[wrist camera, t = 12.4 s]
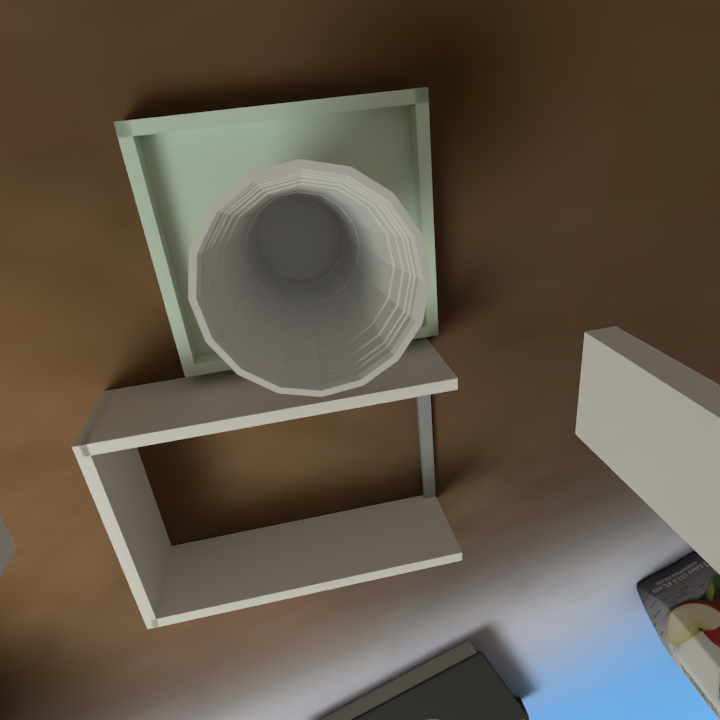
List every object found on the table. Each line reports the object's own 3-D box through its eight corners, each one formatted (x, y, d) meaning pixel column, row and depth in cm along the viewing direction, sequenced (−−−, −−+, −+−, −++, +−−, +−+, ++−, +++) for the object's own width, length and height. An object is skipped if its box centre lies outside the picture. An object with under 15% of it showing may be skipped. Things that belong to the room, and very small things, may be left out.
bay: (164, 555, 43) (147, 629, 36) (104, 390, 36) (71, 446, 30) (434, 500, 45) (462, 560, 39) (425, 337, 39) (457, 378, 32)
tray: (188, 364, 36) (185, 377, 35) (122, 122, 30) (113, 121, 28) (430, 325, 38) (438, 334, 37) (418, 88, 32) (428, 86, 30)
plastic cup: (233, 119, 30) (217, 117, 19) (401, 182, 33) (468, 210, 22) (191, 292, 34) (159, 371, 23) (347, 334, 37) (382, 420, 26)
